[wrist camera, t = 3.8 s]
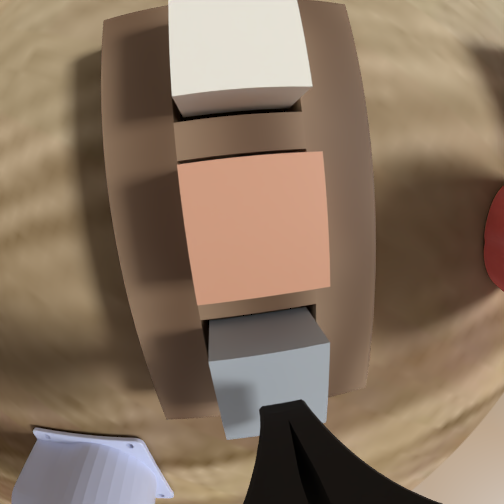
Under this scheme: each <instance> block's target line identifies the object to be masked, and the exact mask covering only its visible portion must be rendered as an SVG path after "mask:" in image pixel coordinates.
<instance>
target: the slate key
mask: <svg viewBox="0 0 504 504" xmlns="http://www.w3.org/2000/svg"><path fill="white" fill-rule="evenodd" d="M208 362H209V367H210V371H211V376H212V380H213V385H214V389H215V393H216V398H217V402H218V406H219V410H220V414H221V418H222V422H223V426H224V430H225V434H226V438H227V440H229V439H238V438H246V437H253V436H259V435H260V414H259V409H260V408H261V407H262V406H266V405H273V404H278V403H284V402H290V401H295V400H300V399H302V400H303V401H305V402H306V404H307V405H308V407H309V408H310V409H311V410H312V412H313V413H314V414H315V415H316V416H317V418H318V419H319V420H320V421H321V422H322V423H325V422H326V417H327V403H328V386H329V363H330V342H329V340H328V339H327V337H326V336H325V334H324V333H323V331H322V330H321V328H320V327H319V325H318V324H317V322H316V321H315V320H314V318H313V317H312V315H311V314H310V312H309V311H308V309H307V308H306V307H301V308H295V309H289V310H283V311H276V312H269V313H263V314H256V315H249V316H241V317H234V318H226V319H218V320H209V358H208Z"/></svg>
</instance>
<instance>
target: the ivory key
mask: <svg viewBox="0 0 504 504" xmlns="http://www.w3.org/2000/svg"><path fill="white" fill-rule="evenodd" d="M168 9H169V52H170V73H171V91H172V98H173V99H174V101H175V103H176V105H177V107H178V109H179V111H180V112H181V114H182V116H183V118H184V117H191V116H198V115H206V114H215V113H224V112H235V111H247V110H262V109H285V108H290V107H291V106H292V105H293V104H294V103H295V102H296V101H297V100H298V99H300V98H301V97H302V96H303V95H304V94H305V93H306V92H307V91H308V90H309V89H310V88H312V87H313V86H312V79H311V73H310V66H309V60H308V54H307V49H306V43H305V37H304V32H303V27H302V22H301V17H300V12H299V7H298V3H297V0H168Z"/></svg>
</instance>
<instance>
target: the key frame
mask: <svg viewBox="0 0 504 504" xmlns="http://www.w3.org/2000/svg"><path fill="white" fill-rule="evenodd" d="M297 3H298V7H299V12H300V17H301V22H302V27H303V32H304V37H305V43H306V49H307V54H308V60H309V66H310V73H311V79H312V86H313V87H312V88H310V89H309V90H308V91H307V92H306V93H305V94H304V95H303V96H302V97H301V98H300V99H298V100H297V101H296V102H295V103H294V104H293V105H292V106H291V107H290V108H285V112H279V113H259V114H245V115H233V116H223V117H214V118H205V119H197V120H190V121H183V122H181V121H180V111H179V109H178V107H177V105H176V103H175V101H174V99H173V98H172V91H171V73H170V52H169V9H168V5H167V6H162V7H156V8H151V9H147V10H142V11H138V12H133V13H129V14H125V15H121V16H118V17H114V18H110V19H107V20H104V23H103V36H102V56H101V113H102V133H103V148H104V160H105V170H106V179H107V188H108V195H109V203H110V210H111V216H112V223H113V229H114V235H115V240H116V246H117V251H118V256H119V261H120V266H121V271H122V275H123V280H124V284H125V288H126V293H127V297H128V301H129V305H130V309H131V313H132V316H133V320H134V324H135V327H136V331H137V334H138V338H139V341H140V345H141V348H142V351H143V354H144V358H145V361H146V364H147V367H148V370H149V373H150V376H151V379H152V382H153V385H154V388H155V390H156V393H157V396H158V399H159V401H160V404H161V407H162V409H163V412H164V414H165V417H166V419H187V418H202V417H213V416H221V414H220V410H219V406H218V402H217V398H216V393H215V389H214V385H213V380H212V376H211V371H210V367H209V362H208V358H209V328H208V323H207V319H216V318H224V317H232V316H239V315H247V314H254V313H261V312H268V311H274V310H281V309H287V308H294V307H300V306H301V307H306V308H307V309H308V311H309V312H310V314H311V315H312V317H313V318H314V320H315V321H316V322H317V324H318V325H319V327H320V328H321V330H322V331H323V333H324V334H325V336H326V337H327V339H328V340H329V342H330V363H329V386H328V397H332V396H336V395H340V394H343V393H347V392H351V391H354V390H358V389H362V388H365V387H366V383H367V375H368V367H369V359H370V350H371V340H372V328H373V315H374V299H375V274H376V217H375V192H374V176H373V163H372V152H371V142H370V133H369V124H368V116H367V109H366V102H365V96H364V89H363V84H362V78H361V72H360V67H359V62H358V57H357V52H356V47H355V43H354V38H353V34H352V30H351V26H350V22H349V18H348V14H347V10H346V7H345V5H344V4H338V3H331V2H323V1H314V0H297ZM318 151H323V160H324V171H325V183H326V196H327V212H328V230H329V253H330V287H325V288H319V289H313V290H307V291H300V292H294V293H287V294H281V295H274V296H267V297H260V298H253V299H245V300H238V301H230V302H222V303H214V304H206V305H197V301H196V295H195V289H194V284H193V278H192V272H191V265H190V259H189V253H188V246H187V239H186V233H185V225H184V218H183V211H182V203H181V195H180V187H179V178H178V169H177V165H179V164H186V163H193V162H200V161H208V160H216V159H225V158H234V157H244V156H255V155H267V154H281V153H297V152H318Z"/></svg>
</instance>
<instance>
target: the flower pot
mask: <svg viewBox="0 0 504 504" xmlns="http://www.w3.org/2000/svg"><path fill="white" fill-rule="evenodd" d="M484 239H485V245H484V262H485V267H486V270H487V273H488V275H489V277H490V279H491V280H492V281H493V282H494V284H496V285H497V286H498V287H499V288H500V289H501V290H502V291H504V186H502V188H501V189H500V190H499V191H498V193H497V194H496V196H495V198H494V200H493V202H492V204H491V207H490V210H489V213H488V216H487V220H486V225H485V232H484Z"/></svg>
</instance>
